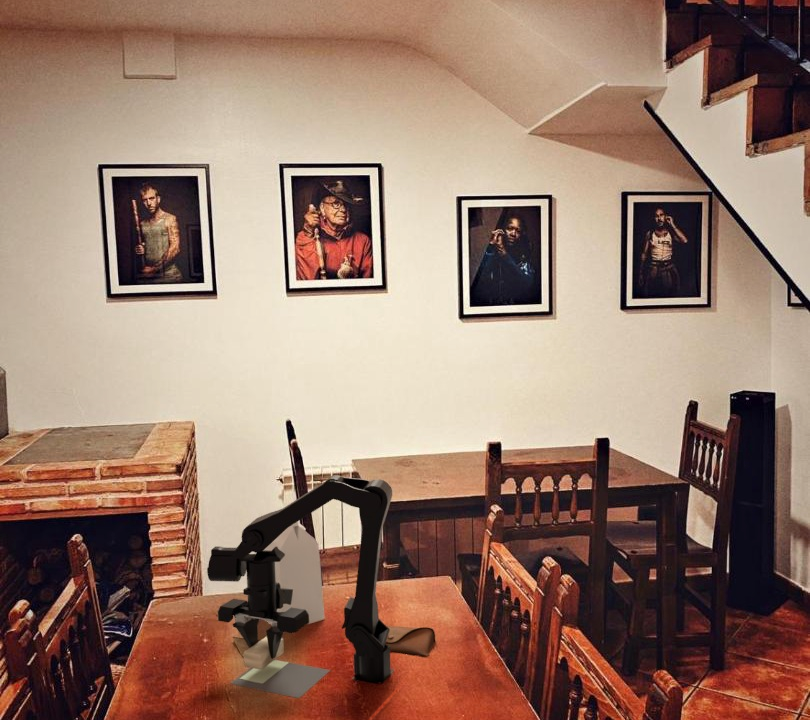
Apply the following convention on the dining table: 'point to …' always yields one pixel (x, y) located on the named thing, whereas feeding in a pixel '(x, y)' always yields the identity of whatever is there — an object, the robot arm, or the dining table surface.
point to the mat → (282, 678)
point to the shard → (241, 645)
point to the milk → (300, 571)
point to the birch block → (261, 654)
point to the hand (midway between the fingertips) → (264, 656)
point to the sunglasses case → (410, 640)
